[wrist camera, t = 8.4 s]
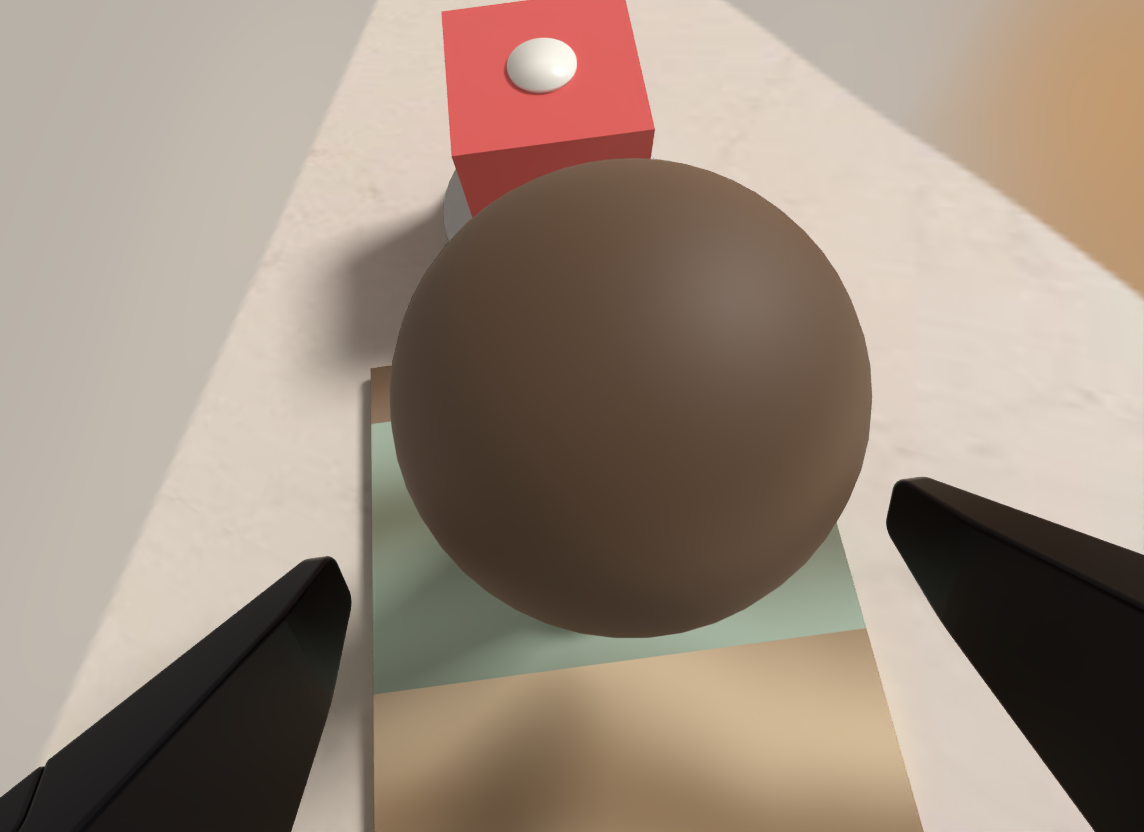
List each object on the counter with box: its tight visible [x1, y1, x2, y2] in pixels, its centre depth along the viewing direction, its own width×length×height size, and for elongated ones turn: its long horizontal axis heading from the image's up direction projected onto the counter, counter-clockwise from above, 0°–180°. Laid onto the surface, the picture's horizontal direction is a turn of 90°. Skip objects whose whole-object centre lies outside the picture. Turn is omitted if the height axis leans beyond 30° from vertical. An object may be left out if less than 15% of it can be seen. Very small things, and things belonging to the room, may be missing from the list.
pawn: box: [389, 158, 872, 638], centre depth 9 cm, size 5×5×13 cm
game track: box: [371, 366, 924, 832], centre depth 14 cm, size 24×14×1 cm, turn 7°
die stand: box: [442, 0, 655, 241], centre depth 16 cm, size 8×8×7 cm
